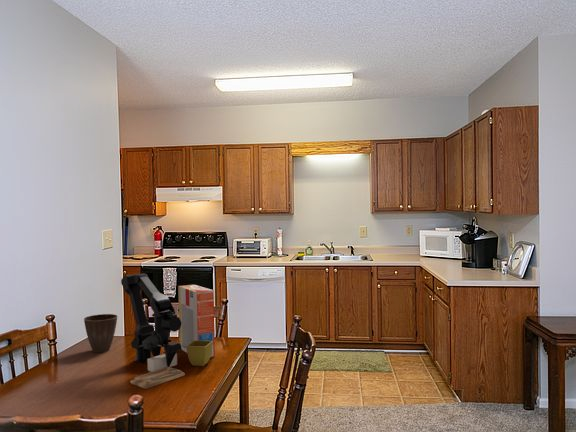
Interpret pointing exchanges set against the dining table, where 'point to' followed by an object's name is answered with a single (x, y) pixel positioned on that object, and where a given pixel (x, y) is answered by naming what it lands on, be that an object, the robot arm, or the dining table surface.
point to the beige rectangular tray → (156, 377)
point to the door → (160, 362)
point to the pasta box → (196, 315)
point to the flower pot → (199, 352)
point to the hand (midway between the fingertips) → (162, 364)
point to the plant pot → (100, 331)
